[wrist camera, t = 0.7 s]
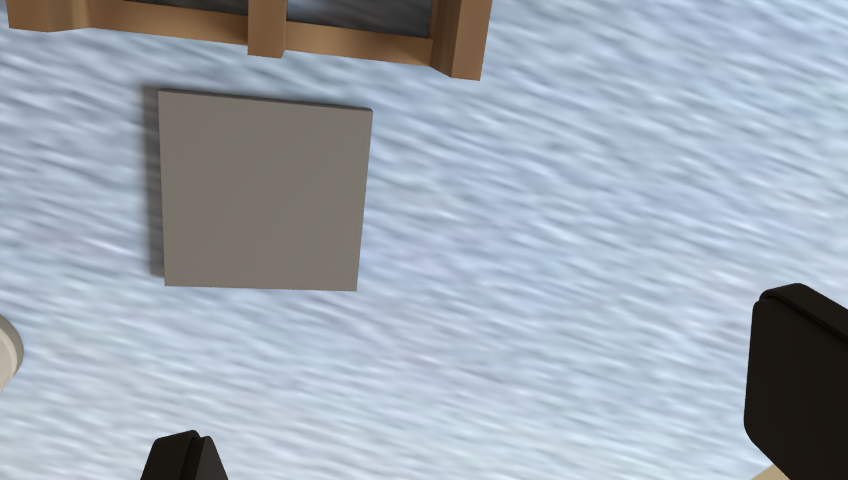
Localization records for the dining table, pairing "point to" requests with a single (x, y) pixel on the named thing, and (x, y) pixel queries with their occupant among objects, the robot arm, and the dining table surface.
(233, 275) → the rubber mat
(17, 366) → the travel mug
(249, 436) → the dining table surface
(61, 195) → the dining table surface
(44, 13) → the walnut rack
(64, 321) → the dining table surface
